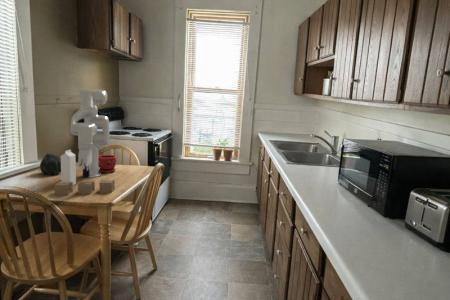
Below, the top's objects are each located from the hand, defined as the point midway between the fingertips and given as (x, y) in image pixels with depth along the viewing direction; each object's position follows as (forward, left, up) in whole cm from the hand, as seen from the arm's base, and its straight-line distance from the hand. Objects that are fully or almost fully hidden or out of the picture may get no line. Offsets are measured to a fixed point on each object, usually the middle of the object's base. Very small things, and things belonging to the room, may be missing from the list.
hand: (86, 176), depth 178 cm
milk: (-13, -15, -9) cm, 22 cm away
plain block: (+1, 0, -9) cm, 9 cm away
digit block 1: (+4, -11, -9) cm, 15 cm away
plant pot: (-50, -2, -9) cm, 51 cm away
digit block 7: (-3, +11, -9) cm, 15 cm away
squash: (-39, -36, -9) cm, 54 cm away
